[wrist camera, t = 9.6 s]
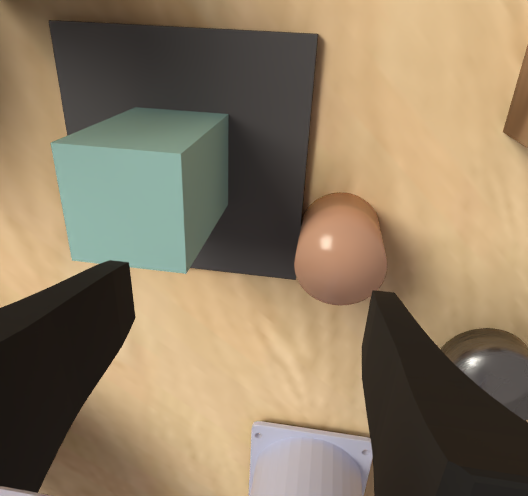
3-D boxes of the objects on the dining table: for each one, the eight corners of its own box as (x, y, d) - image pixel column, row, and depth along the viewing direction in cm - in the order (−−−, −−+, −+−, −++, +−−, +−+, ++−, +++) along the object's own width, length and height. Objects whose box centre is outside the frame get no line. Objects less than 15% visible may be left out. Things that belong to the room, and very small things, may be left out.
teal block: (228, 204, 22) (186, 273, 16) (143, 196, 23) (72, 260, 17) (228, 113, 20) (180, 153, 14) (135, 107, 21) (50, 142, 15)
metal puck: (514, 399, 26) (530, 434, 24) (427, 388, 27) (435, 421, 25) (541, 332, 24) (561, 363, 22) (445, 322, 24) (456, 351, 22)
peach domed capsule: (372, 266, 23) (378, 310, 20) (298, 258, 24) (291, 299, 20) (385, 196, 22) (395, 230, 18) (304, 188, 22) (297, 220, 18)
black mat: (296, 275, 24) (295, 279, 24) (91, 251, 26) (87, 256, 25) (317, 33, 19) (317, 34, 18) (54, 20, 20) (48, 20, 20)
